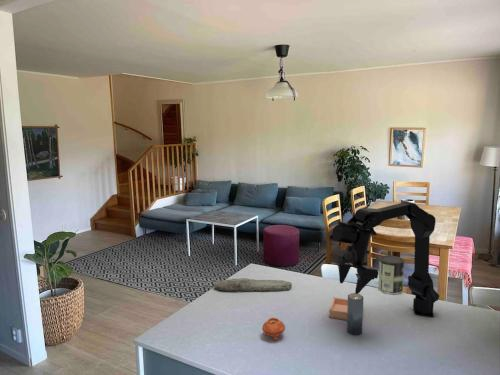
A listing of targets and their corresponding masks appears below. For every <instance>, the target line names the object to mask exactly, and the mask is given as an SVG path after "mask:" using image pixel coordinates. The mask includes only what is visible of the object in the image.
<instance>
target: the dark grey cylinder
mask: <svg viewBox="0 0 500 375" xmlns="http://www.w3.org/2000/svg"><path fill="white" fill-rule="evenodd" d="M347 299H348V307H347V320H346V333H348V334H349V335H351V336H355V337H356V336H361V335H362V334H363V321H364V320H363V317H364V316H363V315H364V296H363V295H362V294H360V293H358V294H356V293H355V292H354V293H350V294H347Z"/></svg>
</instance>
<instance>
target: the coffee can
mask: <svg viewBox="0 0 500 375" xmlns="http://www.w3.org/2000/svg"><path fill="white" fill-rule="evenodd" d="M378 258H379V259H378V260H379V263H378V264H379V265H378V272H379V274H378V285H377V286H378V287H377V288H378V290H379V292H382V293H384V294H387V295H400V294H402V293H403V288H404V284H403V283H404V268H405V259H404V258H402V257H401V256H396V255H390V254H389V255H381V256H379V257H378Z"/></svg>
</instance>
